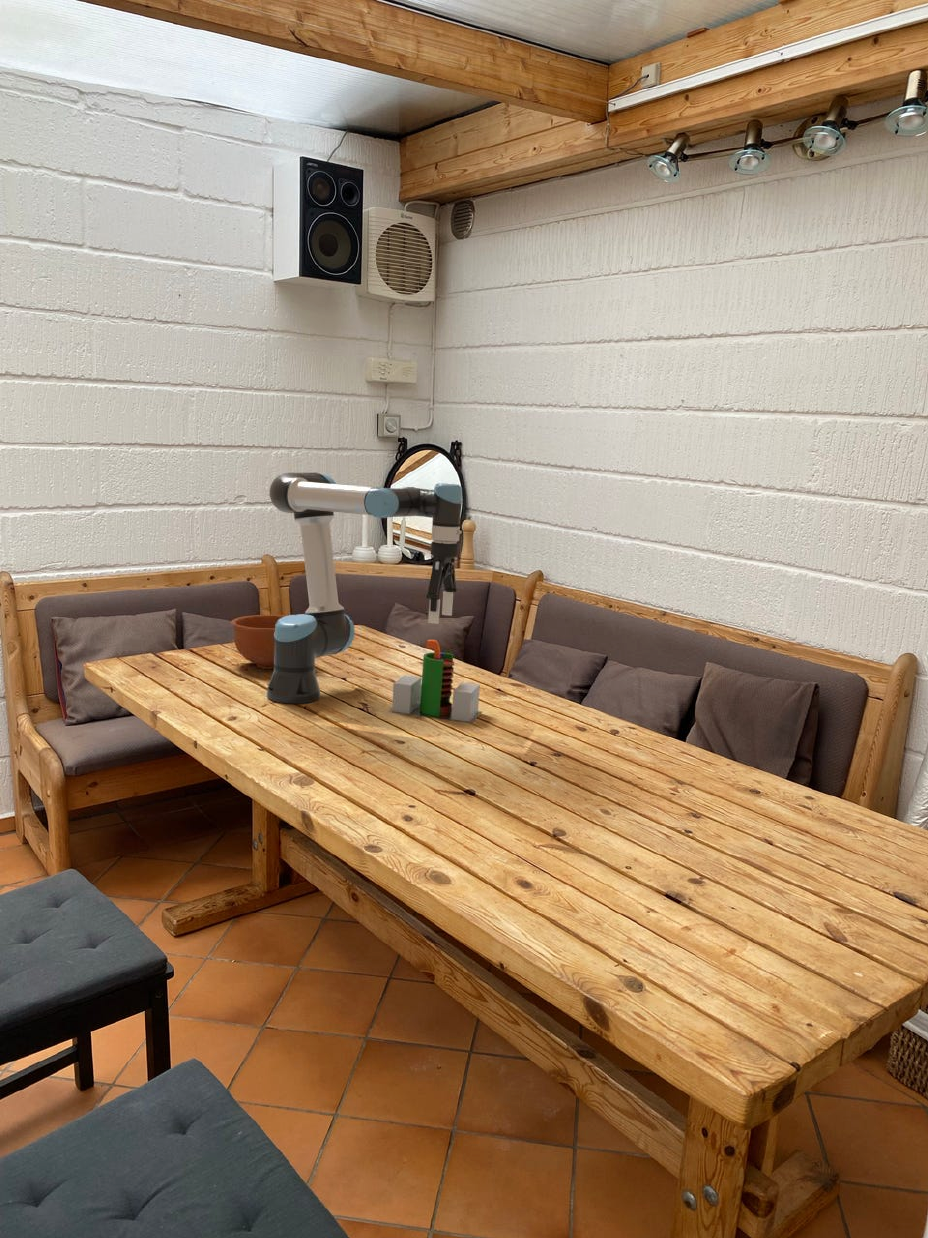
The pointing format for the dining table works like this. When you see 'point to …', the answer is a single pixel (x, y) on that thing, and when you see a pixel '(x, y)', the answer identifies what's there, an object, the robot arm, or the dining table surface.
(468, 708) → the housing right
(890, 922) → the dining table surface
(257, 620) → the bowl
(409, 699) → the block
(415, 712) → the rail plate
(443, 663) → the motor
